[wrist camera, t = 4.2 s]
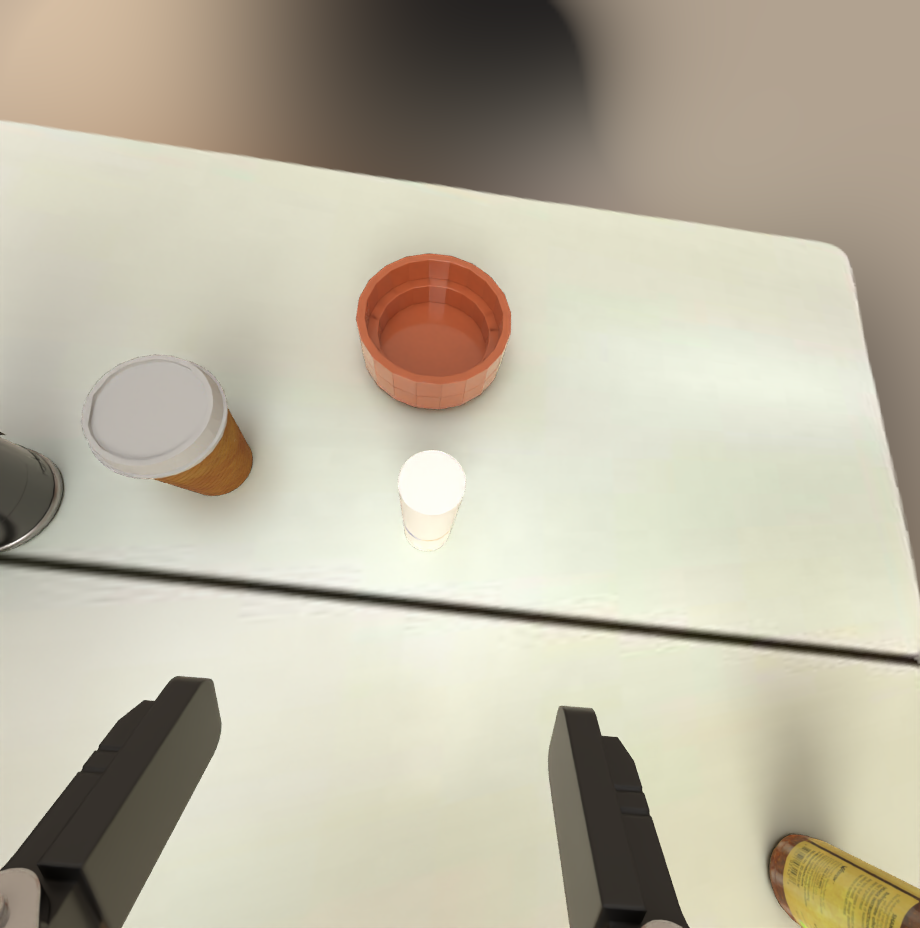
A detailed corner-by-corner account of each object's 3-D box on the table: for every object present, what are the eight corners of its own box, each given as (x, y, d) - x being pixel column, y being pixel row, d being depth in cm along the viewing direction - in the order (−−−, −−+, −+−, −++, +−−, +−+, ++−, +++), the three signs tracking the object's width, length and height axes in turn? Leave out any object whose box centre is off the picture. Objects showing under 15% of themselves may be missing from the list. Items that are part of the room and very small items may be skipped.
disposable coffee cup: (203, 402, 45) (133, 329, 34) (289, 442, 45) (246, 381, 34) (142, 486, 42) (41, 436, 31) (233, 530, 42) (165, 496, 30)
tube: (454, 511, 44) (471, 457, 30) (445, 555, 43) (458, 521, 29) (410, 501, 44) (406, 443, 30) (399, 545, 43) (390, 507, 28)
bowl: (441, 439, 46) (444, 414, 41) (334, 354, 48) (323, 318, 43) (526, 346, 51) (540, 312, 45) (425, 272, 53) (426, 230, 47)
